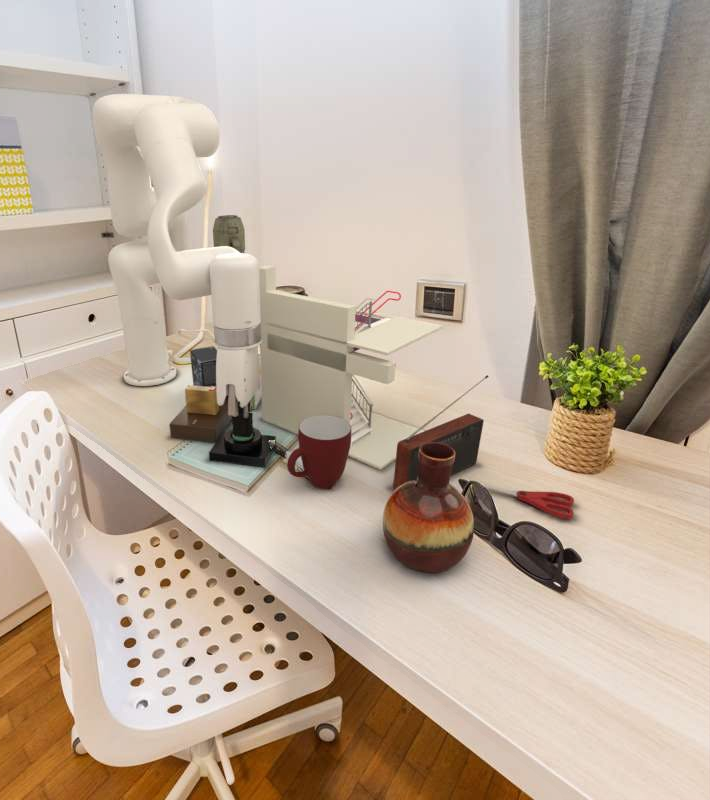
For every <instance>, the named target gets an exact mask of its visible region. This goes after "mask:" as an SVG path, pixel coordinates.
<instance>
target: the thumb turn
mask: <svg viewBox="0 0 710 800" xmlns="http://www.w3.org/2000/svg"><path fill="white" fill-rule="evenodd" d="M184 394H185V406H187V412H188V413H198V414H208V415H217V413H218V412H219V405H218V404H217V393H216V386H211V387H205V386H193V384H188V385H187V387H185V388H184Z"/></svg>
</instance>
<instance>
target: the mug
mask: <svg viewBox="0 0 710 800" xmlns="http://www.w3.org/2000/svg"><path fill="white" fill-rule="evenodd" d="M297 436H298V437H297V439H298V448H296V449H294V450H293V451H292V452H291V453H290V455H289V456H288V459H287V461H286V462H287V463H286V465H287V466H286V468H287V471H288V473H289V474H290V475H291V476H293V477H295V478H298V479H299V478H307V479H308V480H309V481H310V483H311V484H312V486H314V487H316V488H318V489H331V488H333V487H334V486H335V485H336V484H337V483H338V482H339V480H340V479H341V477H342V476H343V474H344V472H345V470H346V469H345V468H346V465H347V461H348V457H349V456H348V454H349V450H350V445H351V425H350V424H349V423H348V422H347V421H345V420H344V419H342V418H339V417H335V416H329V415H319V416H312V417H309V418H306V419H304V420H303V421H302V422H301V423H300V424H299V430H298V435H297ZM299 458H301V463H302V468H303V470H301V471H297V470H296V463H297V461H298V459H299Z"/></svg>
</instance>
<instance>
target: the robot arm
mask: <svg viewBox="0 0 710 800" xmlns="http://www.w3.org/2000/svg"><path fill="white" fill-rule="evenodd" d="M92 107H93V108H92V113H91V114H92V115H91V116H92V127H93V133H94V136H95V140H96V142H97V145H98V147H99V149H100V153H101V155H102V157H103V161H104V164H105V169H106V178H107V188H108V189H107V190H108V196H109V208H110V215H111V222H112V225H113V228H114V231H115V232H116V233H117V234H118V235H120V236H122V237H127V238H134V237H135V238H137V237H147V239H143V240H135V241H127V242H123V243H119V244H117V245H115V246H114V247H113V248H111V249H110V251H109V253H108V256H107V261H108V268H109V272H110V275H111V277H112V280H113V281H112V282H113V284H114V288H115V291H116V295H117V301H118V306H119V312H120V313H119V314H120V317H121V324H122V325H121V326H122V331H123V338H124V344H125V349H126V350H125V352H126V359H127V364H128V369H127V370H125V371H124V373H123V381H124V382H125V383H127V384H128V385H131V386H136V387H152V386H157V385H163V384H165V383H167V382H170V381H172V380H173V379H174V378H176V376H177V368H176V367H175V366H174V365H172V364H170V358H171V357H172V356H173V355H174V351H173V350H172V349H170V348H168V343H167V334H166V327H165V317H164V316H165V315H164V309H163V304H162V301H161V299H160V298H159V297H158V295H157V294H155V292H153V290H152V289H151V288H150V286H152V285H155V284H160V285H161V288H162V289H163V292H165V294H166V295H167V296H168V297H170V298H171V299H173V300H177V301H185V300H191V299H198V298H202V297H208V296H211V307H212V321H213V322H212V323H213V336H214V346H215V347H217V348H216V349H217V358H216V393H217V404H218V405H219V406H222V405H223V404H224V403H225V402H226V401H227V399H228V416H232V420H231V422H232V423H231V424H232V428H233V435H234V436H241V437H250V436H251V434H252V433H253V427H254V419H253V409H252V397H253V395H254V394H255V392H256V391H257V389H258V387H259V357H258V354H259V348H258V347H260V344H261V315H260V284H259V267H260V265H259V261H258V259H257V257H256V256H254V255H252V254H250V253H245V254H244V253H240V252H239V251H237V250H236V249H234V248H232V247H228V246H219V247H214V246H211V247H205V248H204V247H203V248H194V249H193V248H192V249H189V229H188V228H189V227H188V226H189V225H188V224H189V223H188V211H189V210H191V209H192V208H194V207H195V206H197V205H198V204H199V203H200V202H201V200H203V199H204V197H205V195H206V194H207V189H208V185H207V184H208V183H207V180H206V178H205V176H204V174H203V170H202V168H201V164H200V163H199V160H198V158H209V157H211V156H213V155H214V154H215V153H216V152H217V150H218V148H219V145H220V139H221V138H220V137H221V135H220V127H219V122H218V121H217V118H216V116H215V115H214V113H213V112H212V110H211V109H210V108H209V107H208V106H207V105H206V104H204V103H201V102H198V101H195V100H192V99H189V98H186V97H183V96H179V95H165V94H164V95H163V94H141V93H113V94H107V95H104V96H101V97H99V98H98V99H97V100H96V101H95V102H94V104H93V106H92ZM151 184H152V185H151Z"/></svg>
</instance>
